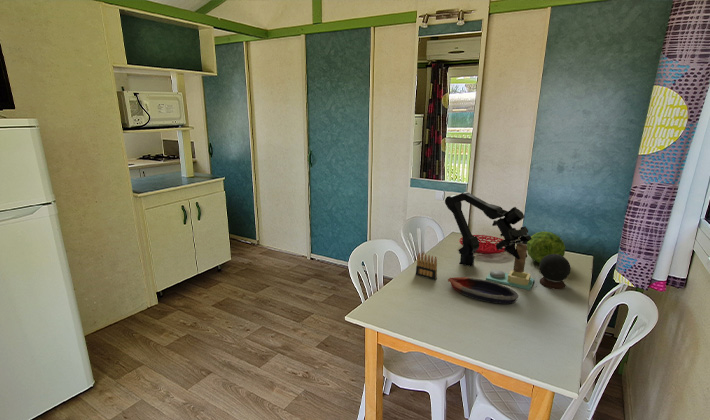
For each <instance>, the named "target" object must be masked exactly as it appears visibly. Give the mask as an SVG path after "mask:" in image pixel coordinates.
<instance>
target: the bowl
mask: <svg viewBox="0 0 710 420" xmlns="http://www.w3.org/2000/svg"><path fill="white" fill-rule="evenodd" d="M472 235H473V236H474V237H475V236H477V238H478V241H479V242H480V243H479V249H478V250H476V252H477V253H480V254H488V255H489V254H491V255H492V254H499V253H506V251H505V250H503V249H505V247H503V248H502V249H501V250H497V248H496V244H497V243H499V242H500V241H502V240H504V238H501V237H500V238H499V237H496V236H492V235H485V234H472ZM462 239H463V237H462V236H461V238H460V239H459V244H461V245H462V246H463V244H462ZM461 245H460V246H461Z"/></svg>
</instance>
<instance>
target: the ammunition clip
mask: <svg viewBox="0 0 710 420" xmlns="http://www.w3.org/2000/svg"><path fill="white" fill-rule="evenodd" d="M430 256H431V257H430ZM437 258H438V257H437V256H434V255H430V254H428V256H427V254H426V253H425V254H424V253H420V252H418V254H417V260H416V268H415V276H419V277H422V278H426V279H429V280H433V281H436V280H437V279H438V276H437V275H438V269H437V268H438V267H437V266H438V263H437V262H438V259H437Z"/></svg>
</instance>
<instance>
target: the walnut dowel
mask: <svg viewBox="0 0 710 420" xmlns="http://www.w3.org/2000/svg"><path fill="white" fill-rule="evenodd" d="M515 248H516V250H517V252H518V254H519V257H520V259H519V260H518V259H517V258H515V257H514V263H513V268H512V270H514V271H515V272H519V273H522V272H525V266H526V258H527V257H526V252H527V253H528V251H527V243H526V244H522V243H518V244H517V245H515Z"/></svg>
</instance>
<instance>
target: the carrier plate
mask: <svg viewBox="0 0 710 420" xmlns="http://www.w3.org/2000/svg"><path fill="white" fill-rule="evenodd" d="M485 280H487V281H491V282H494V283H498V284H501V285H505V286H511V287H515V288H519V289H523V290H527V291H531V289H532V287H533V283H534V281H535V278H533V277H531V273H528V272H525V271H524V272H522V273H519V272H515V271H514V270H513V269H510V271H509V273H508V272H504V271H503V270H500V269H499V270H498V269H491V270H490V272H489V273H488V274H487V276H486V278H485Z"/></svg>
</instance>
